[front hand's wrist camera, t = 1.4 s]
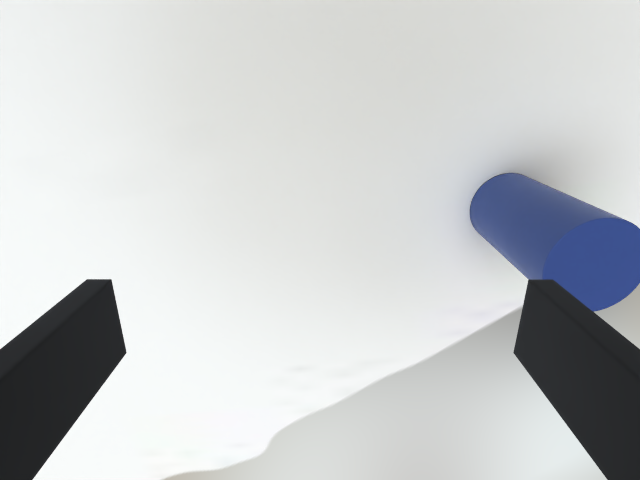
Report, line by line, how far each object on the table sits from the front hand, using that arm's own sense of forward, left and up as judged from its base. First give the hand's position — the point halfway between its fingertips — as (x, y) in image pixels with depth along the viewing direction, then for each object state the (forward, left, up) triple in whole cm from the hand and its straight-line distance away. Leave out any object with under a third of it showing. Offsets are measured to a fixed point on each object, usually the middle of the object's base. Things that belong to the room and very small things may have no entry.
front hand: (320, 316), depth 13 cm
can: (-6, +15, -23) cm, 28 cm away
